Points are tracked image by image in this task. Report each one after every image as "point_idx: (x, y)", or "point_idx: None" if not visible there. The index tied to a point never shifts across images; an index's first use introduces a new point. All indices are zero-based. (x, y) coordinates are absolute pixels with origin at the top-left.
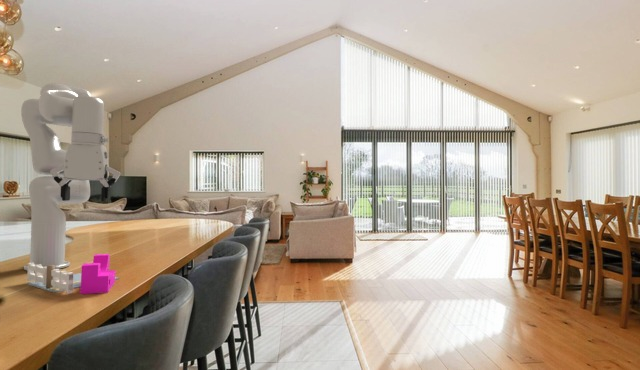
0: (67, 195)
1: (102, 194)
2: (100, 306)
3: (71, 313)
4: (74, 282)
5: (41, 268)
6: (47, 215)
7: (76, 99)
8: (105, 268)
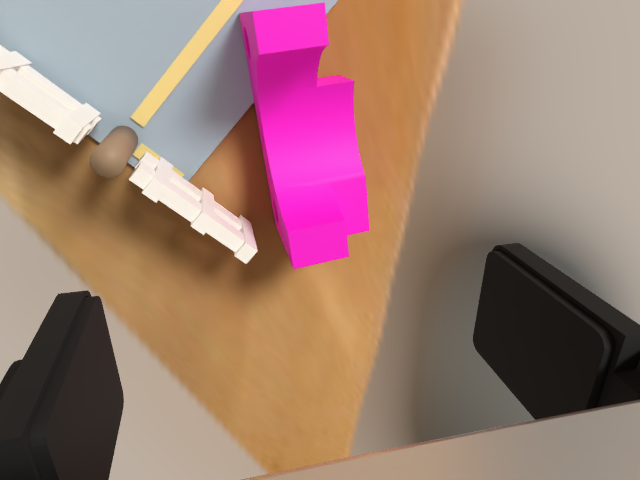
0: (101, 393)
1: (522, 393)
2: (368, 325)
3: (321, 366)
4: (182, 72)
5: (38, 116)
6: None
7: None
8: (314, 77)
